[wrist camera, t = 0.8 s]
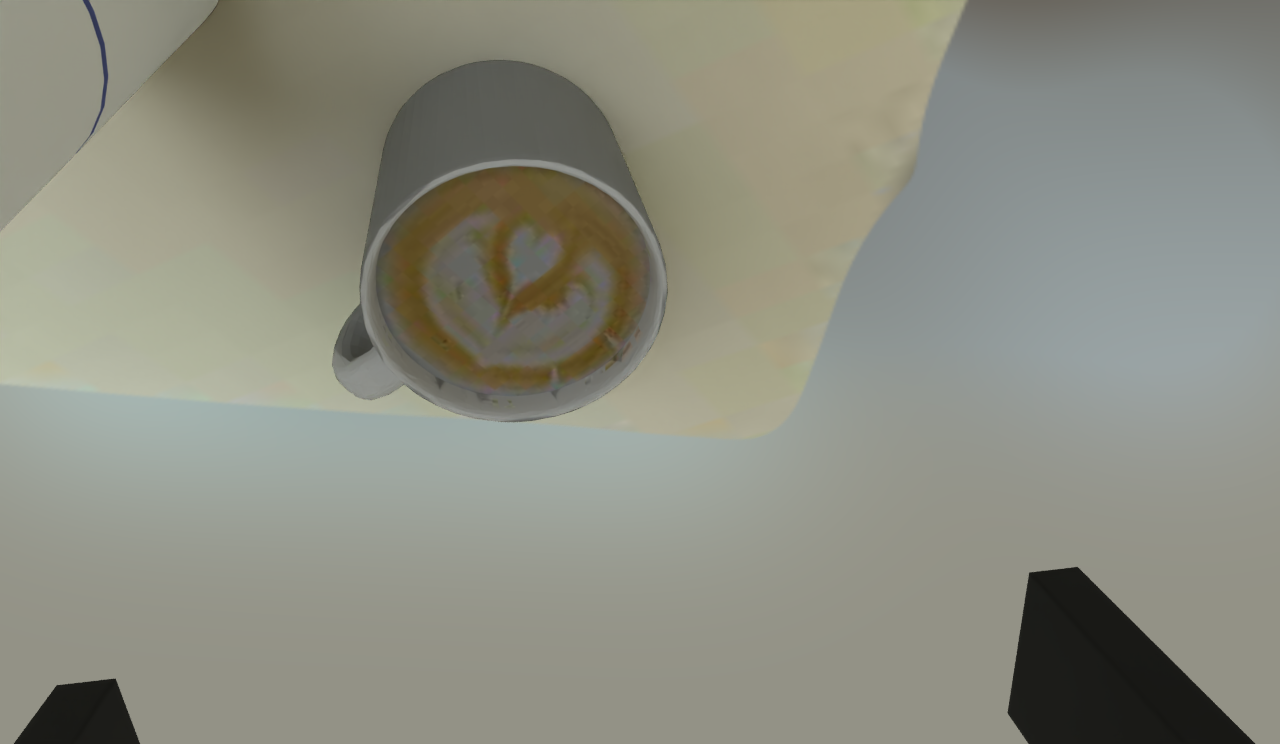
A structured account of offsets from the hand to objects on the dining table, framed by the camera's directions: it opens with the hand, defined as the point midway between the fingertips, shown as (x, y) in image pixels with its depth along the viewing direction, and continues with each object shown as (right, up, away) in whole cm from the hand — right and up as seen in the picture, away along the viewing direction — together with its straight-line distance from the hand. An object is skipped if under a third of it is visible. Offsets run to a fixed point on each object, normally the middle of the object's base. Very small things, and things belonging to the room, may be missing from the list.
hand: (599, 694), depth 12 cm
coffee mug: (-7, +12, +23) cm, 27 cm away
